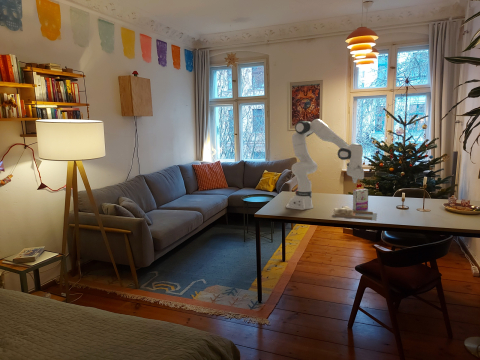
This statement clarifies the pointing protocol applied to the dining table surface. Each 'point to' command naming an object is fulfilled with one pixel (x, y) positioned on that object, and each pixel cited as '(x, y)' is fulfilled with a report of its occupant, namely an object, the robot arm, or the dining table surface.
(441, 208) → the dining table surface
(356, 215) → the mat
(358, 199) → the candy bar box
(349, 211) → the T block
